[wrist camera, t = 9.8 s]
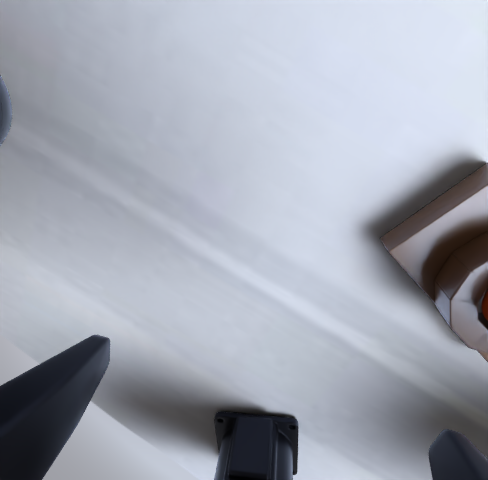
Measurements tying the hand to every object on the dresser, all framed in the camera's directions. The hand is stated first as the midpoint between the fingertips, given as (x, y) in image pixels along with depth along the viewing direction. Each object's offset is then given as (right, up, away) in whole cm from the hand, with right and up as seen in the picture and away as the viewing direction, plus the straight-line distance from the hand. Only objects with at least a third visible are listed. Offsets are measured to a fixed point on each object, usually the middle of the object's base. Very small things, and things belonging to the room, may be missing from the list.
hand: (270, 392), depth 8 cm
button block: (+12, +3, +9) cm, 16 cm away
